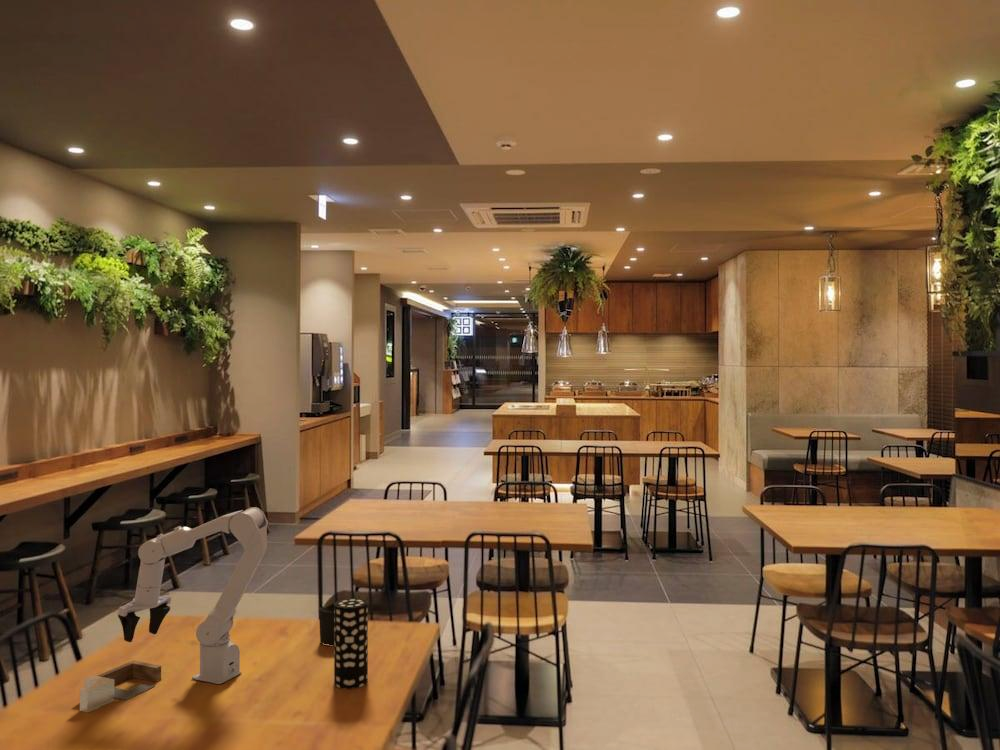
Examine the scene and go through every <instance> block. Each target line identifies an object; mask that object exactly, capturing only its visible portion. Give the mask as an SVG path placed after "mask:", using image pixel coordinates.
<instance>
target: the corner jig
mask: <svg viewBox="0 0 1000 750" xmlns="http://www.w3.org/2000/svg"><path fill="white" fill-rule="evenodd" d="M96 676H100V677H105V678H109V679H114V686H115V685H117V684H119V683H122V682H124V681H127V680H129V679H131V678H136V679H140V680H146V681H151V682H154V683H157V682H159V681H162V665H158V664H155V663H154V664H153V663H148V662H142V661H139V660H138V661H137V660H130V661H129V662H127V663H124V664H122V665H120V666H117V667H114V668H112V669H109V670H107V671H105V672H102V673H100V674H97V675H96Z"/></svg>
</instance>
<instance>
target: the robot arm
mask: <svg viewBox="0 0 1000 750" xmlns="http://www.w3.org/2000/svg"><path fill="white" fill-rule="evenodd" d="M268 523H269V521H268V520H267V517H266V516H265V513H264V512H263V511H262V509H260V508H259V507H255V506H254V507H248V508H247V509H245V510H244V509H241V510H238V511H233V512H230V513H227V514H224V515H221V516H220V517H217V518H215V519H212V520H210V521H207V522H206V523H203V524H201V525H198V526H196V527H194V528H191V527H188V526H181V525H179V526H176V527H174V528H173V530H172V531H170V532H167V533H164V534H163V533H160V534H158V535H157V536H156V537H155V538H152V539H149V540H147V541H144V543H142V544H141V545H140V546H139V548H138V551H137V553H138V558H139V559H140V566H139V569H138V575H137V582H136V589H135V593H134V595H135V596H134V598H132V601H130V602H128V603H127V604H124V605H122V606H119V608H118V613H117V617H118V619H119V622H120V624H121V627H122V632H123V641H125V642H127V643H132V642H133V641H134V640H133V639H134V636H135V631H136V628H137V625H138V623H139V620H140V619H141V617H140V616H138V615H137V614H136V613H138V612H142V611H144V610H149V625H148V633H150V634H152V635H157V633H158V632H159V630H160V628H161V627H160V626H161V625H162V623H163V620H165V619H164V618H165V617H166V616H167V614H168V613H169V612H170V610H171V606H170V605H171V602H172V596H170V595H167V594H166V595H165V594H164V595H161V594H160V593H161V587H162V583H163V582H162V581H163V574H164V570H165V569H164V568H165V562H166V558H167V557H171V556H174V555H176V554H178V553H181V552H183V551H187V550H188V549H191V548H193V547H194V545H195V543H196V541H197V540H199V539H203V538H205V537H208V536H211V535H214V534H217V533H219V532H223V533H225V534H230V533H232V535H233V536H234V537H235V538H236V539H237V540H238V542H239V543H240V545H241V546H242V548H243V550H244V551H243V554H242V555H241V556H240V559H239V560H238V563H237V565H236V567H235V568H234V570H233V572H232V574H231V576H230V577H229V580H228V582H227V583H226V585H225V586H224V589H223V591H222V592H221V594H220V596H219V599H218V600H217V602H216V604H215V606H214V607H213V608H212V610H211V611H210V612H209V614H208V615H207V617H206V618H205V620H204V621H202V622H201V623H200V624H198V626H197V628H196V630H195V637H196V638H197V641H198V642H199V673H196V674H195V675H193V676H192V677H191V679H193V680H197V681H201V682H206V683H211V684H217V685H221V684H223V683H225V682H227V681H229V680H231V679H233V678H235V677H237V676H238V675H240V674H242V673H243V671H242V670H240V667H241V666H240V660H241V659H240V656H241V654H240V648H239V646H238V645H237V644H236V643H233V642H232V641H231V637H230V631H231V629H232V628H233V625H234V617H235V615H236V613H237V607H238V606H239V603H240V602H241V601H240V600H242V598H243V596H244V594H245V592H246V590H247V589H248V588H247V587H248V586H249V585H250V582H251V580H252V579H253V577H254V575H255V573H256V571H257V570H258V567H259V566H260V563H261V561H263V560H262V559H263V558H264V556H265V554H266V552H267V550H268V535H267V534H268V531H267V530H268Z"/></svg>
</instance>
